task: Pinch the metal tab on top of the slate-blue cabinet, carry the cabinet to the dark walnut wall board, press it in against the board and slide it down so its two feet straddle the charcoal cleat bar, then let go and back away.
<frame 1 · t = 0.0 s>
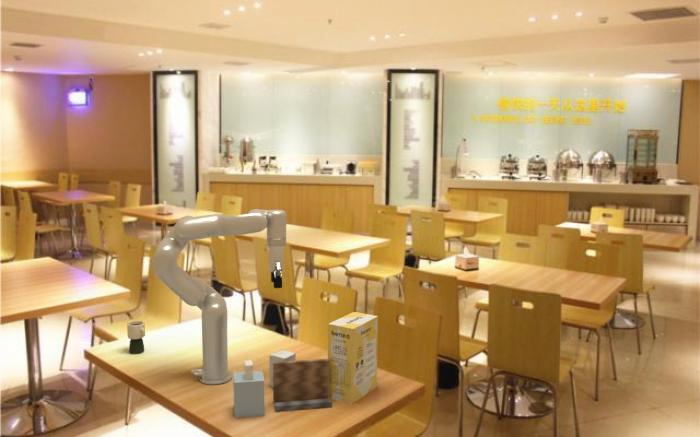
hand: (276, 284, 251), 37 cm above the table, tool pointing down, fingers open, 9 cm apart
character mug: (136, 352, 278), on the table
supplement box: (282, 385, 246), on the table
pasta box: (352, 392, 240), on the table
walnut wall board: (303, 407, 226), on the table
slate cabinet: (248, 410, 223), on the table
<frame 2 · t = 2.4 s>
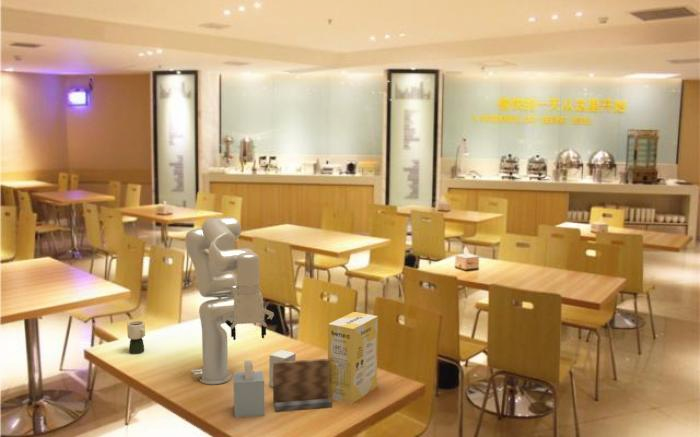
hand: (248, 338, 219), 26 cm above the table, tool pointing down, fingers open, 9 cm apart
nothing on the table moved.
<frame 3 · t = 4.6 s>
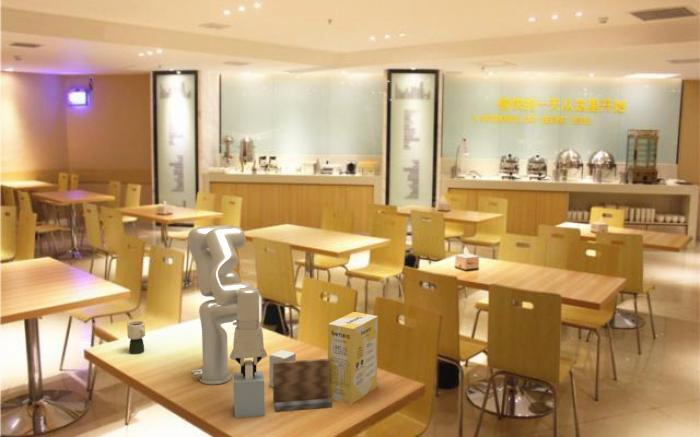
hand: (248, 374, 221), 13 cm above the table, tool pointing down, fingers closed on slate cabinet, 2 cm apart
slate cabinet: (248, 410, 223), on the table, touching gripper
everything else where it was.
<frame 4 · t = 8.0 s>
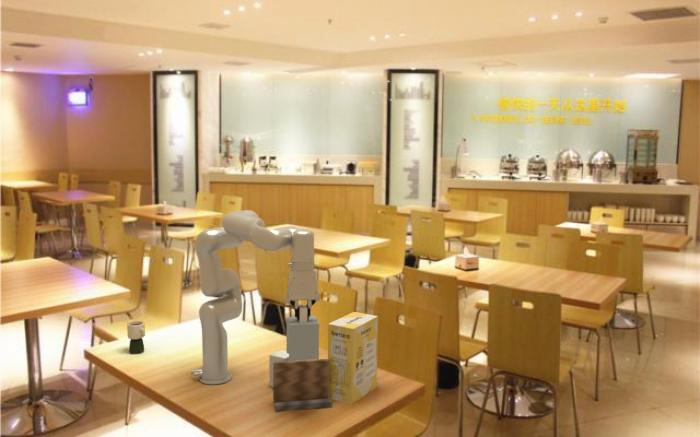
hand: (302, 318, 220), 33 cm above the table, tool pointing down, fingers closed on slate cabinet, 2 cm apart
slate cabinet: (302, 355, 221), point 20 cm above the table, touching gripper
everything else where it was.
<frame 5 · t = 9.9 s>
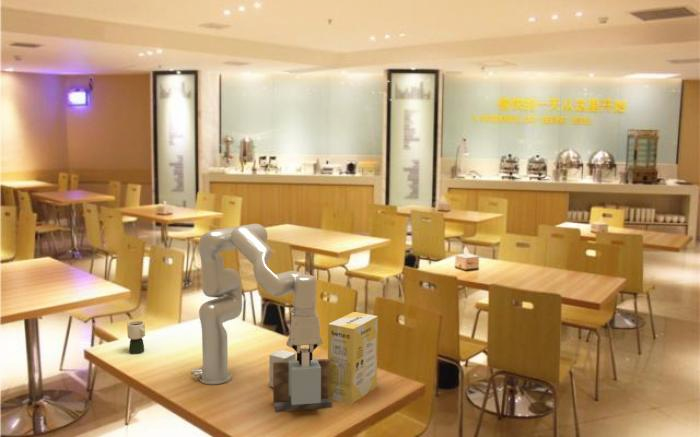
hand: (304, 362, 222), 18 cm above the table, tool pointing down, fingers closed on slate cabinet, 2 cm apart
slate cabinet: (304, 398, 224), point 4 cm above the table, touching gripper
everything else where it was.
when the fingers open (14 cm above the table, at t = 11.5 s): slate cabinet stays where it is, resting in walnut wall board.
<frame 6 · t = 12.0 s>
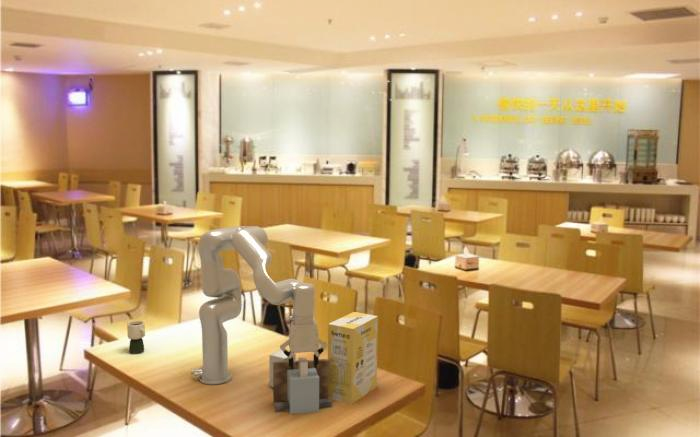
hand: (303, 367, 224), 15 cm above the table, tool pointing down, fingers open, 7 cm apart
slate cabinet: (302, 407, 227), resting in walnut wall board
everything else where it was.
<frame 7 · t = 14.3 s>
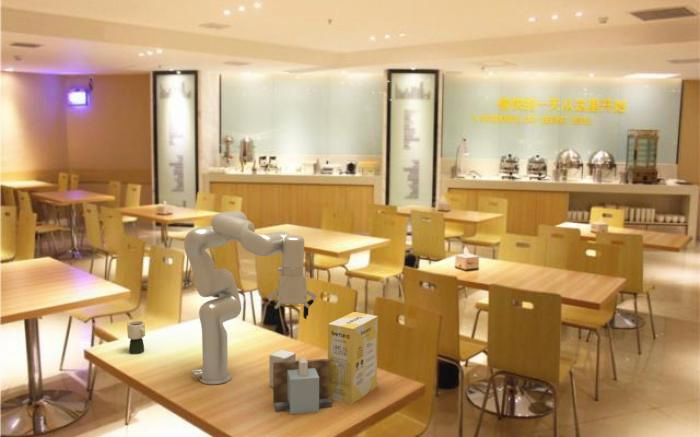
hand: (291, 318, 226), 31 cm above the table, tool pointing down, fingers open, 9 cm apart
nothing on the table moved.
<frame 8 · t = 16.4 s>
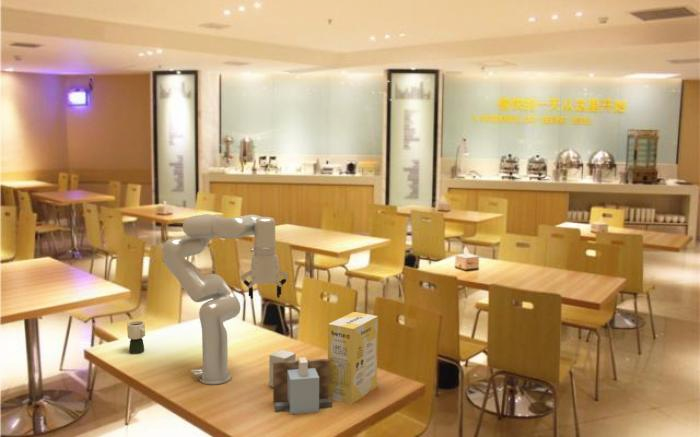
hand: (265, 297, 234), 36 cm above the table, tool pointing down, fingers open, 9 cm apart
nothing on the table moved.
at the end: slate cabinet 0.2 cm off-centre on the walnut wall board, point 0.0 cm above the walnut wall board's base; slate cabinet tilted 0°; the gripper is holding nothing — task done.
